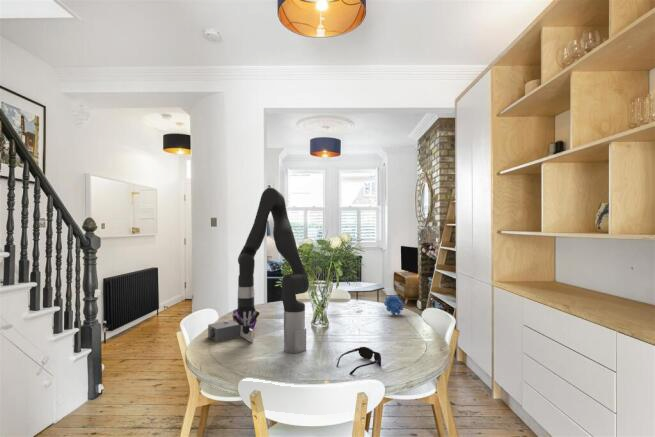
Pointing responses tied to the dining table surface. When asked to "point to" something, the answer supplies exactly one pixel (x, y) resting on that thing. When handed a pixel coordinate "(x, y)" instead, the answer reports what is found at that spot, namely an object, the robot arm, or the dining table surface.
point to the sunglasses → (364, 356)
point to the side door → (247, 336)
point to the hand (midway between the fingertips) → (245, 333)
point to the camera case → (223, 330)
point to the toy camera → (241, 320)
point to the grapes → (394, 304)
